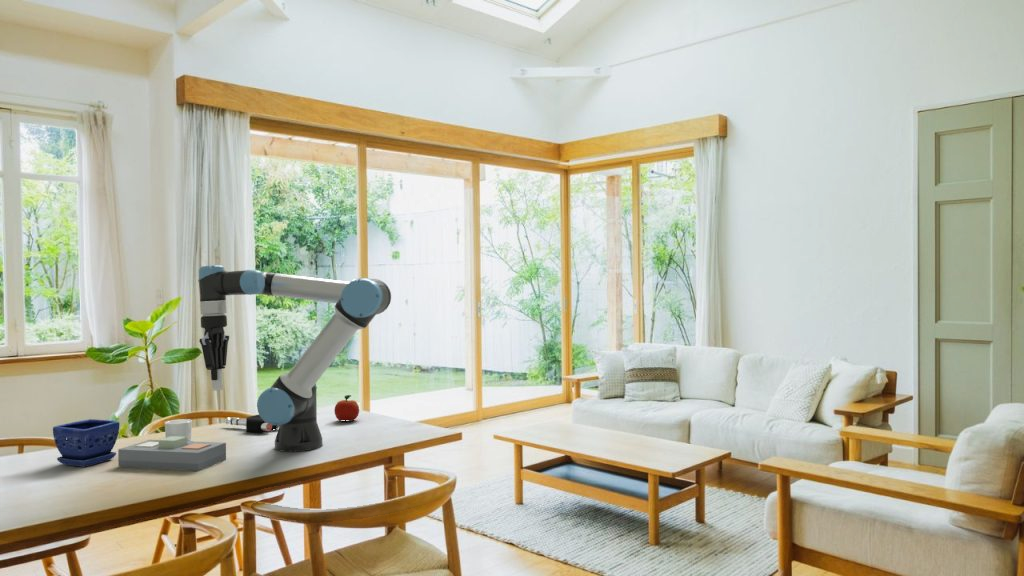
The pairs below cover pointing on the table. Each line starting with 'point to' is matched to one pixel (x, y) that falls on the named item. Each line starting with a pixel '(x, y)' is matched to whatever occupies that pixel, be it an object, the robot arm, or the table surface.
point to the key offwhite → (148, 444)
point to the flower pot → (86, 441)
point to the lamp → (252, 424)
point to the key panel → (172, 456)
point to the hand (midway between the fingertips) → (217, 390)
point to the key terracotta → (196, 446)
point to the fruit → (346, 409)
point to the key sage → (173, 442)
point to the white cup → (179, 428)
